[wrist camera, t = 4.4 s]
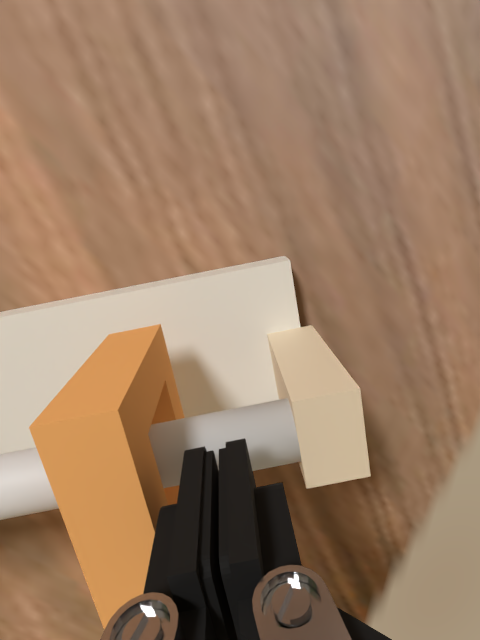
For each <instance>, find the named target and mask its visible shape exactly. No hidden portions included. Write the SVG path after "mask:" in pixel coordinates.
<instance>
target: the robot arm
mask: <svg viewBox="0 0 480 640" xmlns="http://www.w3.org/2000/svg"><path fill="white" fill-rule="evenodd" d="M100 640H392V639H390V638H388V637H386V636H385V635H383V634H381V633H380V632H378V631H376V630H374V629H373V628H371V627H369V626H368V625H366V624H364V623H363V622H361V621H359V620H358V619H356V618H354V617H352V616H351V615H349V614H347V613H346V612H344V611H342V610H341V609H339V608H337V607H336V605H335V603H334V601H333V598H332V596H331V594H330V592H329V590H328V588H327V586H326V584H325V583H324V581H323V580H322V578H321V577H320V576H319V575H318V574H317V573H315V572H314V571H313V570H311V569H309V568H306V567H303V566H302V565H301V561H300V557H299V552H298V548H297V544H296V539H295V535H294V531H293V526H292V522H291V518H290V513H289V509H288V505H287V500H286V496H285V492H284V487H283V483H277V484H272V485H267V486H262V487H257V488H256V485H255V480H254V475H253V471H252V466H251V462H250V457H249V452H248V448H247V443H246V439H245V438H244V439H239V440H234V441H229V442H226V448H222V449H219V470H218V466H217V462H216V458H215V454H214V451H213V450H212V451H206V448H205V446H204V447H199V448H194V449H189V450H185V451H184V457H183V464H182V471H181V478H180V485H179V492H178V499H177V504H172V505H167V506H162V507H161V508H160V511H159V515H158V520H157V525H156V531H155V536H154V541H153V546H152V551H151V556H150V561H149V566H148V572H147V577H146V582H145V587H144V592H143V594H141V595H139V596H137V597H135V598H133V599H131V600H129V601H128V602H127V603H125V604H124V605H123V606H121V607H120V608H119V609H118V610H117V611H116V613H115V614H114V615H113V616H112V617H111V619H110V620H109V622H108V624H107V626H106V628H105V629H104V632H103V634H102V637H101V639H100Z"/></svg>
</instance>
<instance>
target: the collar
mask: <svg viewBox="0 0 480 640" xmlns="http://www.w3.org/2000/svg"><path fill="white" fill-rule="evenodd" d="M182 418H184V414H183V410H182V406H181V402H180V398H179V394H178V390H177V386H176V382H175V378H174V374H173V370H172V366H171V363H170V359H169V355H168V351H167V347H166V343H165V339H164V335H163V331H162V327H161V324H158V325H153V326H148V327H143V328H138V329H133V330H128V331H123V332H118V333H113V334H109V335H108V336H107V337H106V338H105V339H104V341H103V342H102V343H101V344H100V345H99V346H98V348H97V349H96V350H95V351H94V352H93V353H92V354H91V356H90V357H89V358H88V359H87V360H86V361H85V363H84V364H83V365H82V366H81V367H80V368H79V370H78V371H77V372H76V373H75V374H74V375H73V377H72V378H71V379H70V380H69V381H68V382H67V383H66V385H65V386H64V387H63V388H62V389H61V390H60V392H59V393H58V394H57V395H56V396H55V397H54V399H53V400H52V401H51V402H50V403H49V404H48V406H47V407H46V408H45V409H44V410H43V411H42V412H41V414H40V415H39V416H38V417H37V418H36V419H35V421H34V422H33V423H32V424H31V425H30V426H29V429H30V432H31V435H32V437H33V440H34V443H35V445H36V448H37V451H38V453H39V456H40V459H41V461H42V464H43V467H44V469H45V472H46V475H47V477H48V480H49V483H50V485H51V488H52V491H53V493H54V496H55V499H56V502H57V504H58V507H59V510H60V512H61V515H62V518H63V520H64V523H65V526H66V528H67V531H68V534H69V536H70V539H71V542H72V544H73V547H74V550H75V552H76V555H77V558H78V560H79V563H80V566H81V568H82V571H83V574H84V576H85V579H86V582H87V584H88V587H89V590H90V593H91V595H92V598H93V601H94V603H95V606H96V609H97V611H98V614H99V617H100V619H101V622H102V625H103V627H104V629H105V628H106V626H107V624H108V622H109V620H110V619H111V617H112V616H113V615H114V614H115V613H116V611H117V610H118V609H119V608H120V607H121V606H123V605H124V604H125V603H127V602H128V601H129V600H131V599H133V598H135V597H137V596H139V595H141V594H143V592H144V587H145V582H146V577H147V572H148V566H149V561H150V556H151V551H152V546H153V541H154V536H155V531H156V525H157V520H158V515H159V511H160V508H161V507H162V506H167V505H172V504H177V499H178V492H179V485H178V486H173V487H168V488H163V485H162V481H161V478H160V474H159V471H158V467H157V464H156V460H155V457H154V453H153V450H152V446H151V443H150V439H149V436H148V433H149V430H150V427H151V425H152V424H157V423H162V422H167V421H172V420H177V419H182Z"/></svg>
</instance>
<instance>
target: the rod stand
mask: <svg viewBox="0 0 480 640" xmlns="http://www.w3.org/2000/svg"><path fill="white" fill-rule="evenodd" d="M158 324H161V327H162V331H163V335H164V339H165V343H166V347H167V351H168V355H169V359H170V363H171V366H172V370H173V374H174V378H175V382H176V386H177V390H178V394H179V398H180V402H181V406H182V410H183V414H184V418H182V419H177V420H172V421H167V422H162V423H157V424H152V425H151V427H150V430H149V433H148V436H149V439H150V443H151V446H152V450H153V453H154V457H155V460H156V464H157V467H158V471H159V474H160V478H161V481H162V485H163V488H168V487H173V486H178V485H180V478H181V471H182V464H183V457H184V451H185V450H189V449H194V448H199V447H204V446H205V448H206V451H212V450H213V451H214V454H215V458H216V462H217V466H218V470H219V449H222V448H226V442H229V441H234V440H239V439H244V438H245V439H246V443H247V448H248V452H249V457H250V462H251V466H252V471H255V470H260V469H265V468H271V467H276V466H281V465H286V464H291V463H296V462H299V465H300V469H301V472H302V475H303V478H304V482H305V485H306V488H307V489H308V488H313V487H319V486H324V485H329V484H334V483H339V482H344V481H349V480H355V479H360V478H365V477H370V476H371V475H370V467H369V458H368V450H367V442H366V433H365V425H364V417H363V409H362V400H361V392H360V388H359V386H358V385H357V384H356V383H355V381H354V380H353V379H352V377H351V376H350V375H349V373H348V372H347V371H346V369H345V368H344V367H343V365H342V364H341V363H340V362H339V360H338V359H337V358H336V356H335V355H334V354H333V352H332V351H331V350H330V348H329V347H328V346H327V345H326V343H325V342H324V341H323V339H322V338H321V337H320V335H319V334H318V333H317V331H316V330H315V329H314V327H313V326H312V325H310V326H305V327H300V321H299V314H298V308H297V302H296V295H295V289H294V282H293V276H292V270H291V263H290V260H289V259H288V258H287V257H285V256H282V257H277V258H271V259H266V260H261V261H256V262H251V263H246V264H241V265H236V266H231V267H226V268H221V269H216V270H211V271H206V272H201V273H196V274H190V275H185V276H180V277H175V278H170V279H165V280H160V281H155V282H150V283H145V284H140V285H135V286H130V287H125V288H120V289H115V290H109V291H104V292H99V293H94V294H89V295H84V296H79V297H74V298H69V299H64V300H59V301H54V302H49V303H44V304H39V305H33V306H28V307H23V308H18V309H13V310H8V311H3V312H0V520H3V519H8V518H13V517H18V516H23V515H28V514H34V513H39V512H44V511H49V510H54V509H59V507H58V504H57V502H56V499H55V496H54V493H53V491H52V488H51V485H50V483H49V480H48V477H47V475H46V472H45V469H44V467H43V464H42V461H41V459H40V456H39V453H38V451H37V448H36V445H35V443H34V440H33V437H32V435H31V432H30V429H29V426H30V425H31V424H32V423H33V422H34V421H35V419H36V418H37V417H38V416H39V415H40V414H41V412H42V411H43V410H44V409H45V408H46V407H47V406H48V404H49V403H50V402H51V401H52V400H53V399H54V397H55V396H56V395H57V394H58V393H59V392H60V390H61V389H62V388H63V387H64V386H65V385H66V383H67V382H68V381H69V380H70V379H71V378H72V377H73V375H74V374H75V373H76V372H77V371H78V370H79V368H80V367H81V366H82V365H83V364H84V363H85V361H86V360H87V359H88V358H89V357H90V356H91V354H92V353H93V352H94V351H95V350H96V349H97V348H98V346H99V345H100V344H101V343H102V342H103V341H104V339H105V338H106V337H107V336H108V335H109V334H113V333H118V332H123V331H128V330H133V329H138V328H143V327H148V326H153V325H158Z"/></svg>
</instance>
